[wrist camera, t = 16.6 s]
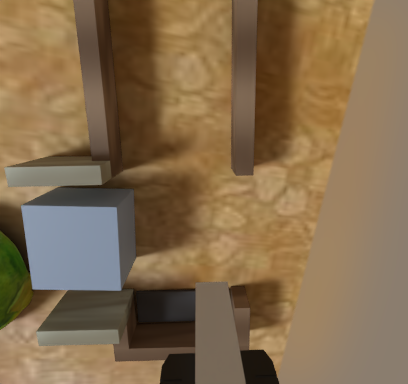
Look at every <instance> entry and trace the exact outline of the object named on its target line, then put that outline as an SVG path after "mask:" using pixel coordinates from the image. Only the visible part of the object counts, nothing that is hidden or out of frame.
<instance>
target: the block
mask: <svg viewBox="0 0 408 384" xmlns="http://www.w3.org/2000/svg"><path fill="white" fill-rule="evenodd" d="M21 209H22V216H23V223H24V230H25V238H26V245H27V252H28V259H29V266H30V274H31V281H32V288H33V289H36V290H107V291H121V290H122V287H123V285H124V283H125V281H126V279H127V276H128V274H129V272H130V270H131V268H132V265H133V263H134V261H135V259H136V239H135V211H134V189H111V188H65V187H58V188H56V189H54V190H52V191H49V192H47V193H45V194H43V195H41V196H39V197H37V198H35V199H33V200H31V201H29V202H27V203H25V204H23V205H21Z"/></svg>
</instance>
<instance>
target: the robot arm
mask: <svg viewBox="0 0 408 384" xmlns="http://www.w3.org/2000/svg"><path fill="white" fill-rule="evenodd" d="M160 384H279V381H278V378H277V375H276V371H275V368H274V365H273V361H272V360H271V359H270V357H269V356H268V355H267V354H266V352H265V351H264V350H240V349H239V343H238V338H237V332H236V327H235V321H234V316H233V310H232V305H231V299H230V294H229V288H228V283H227V282H198V283H196V312H195V353H181V354H169V355H168V357H167V359H166V360H165V362H164V364H163V365H162V370H161V378H160Z"/></svg>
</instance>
